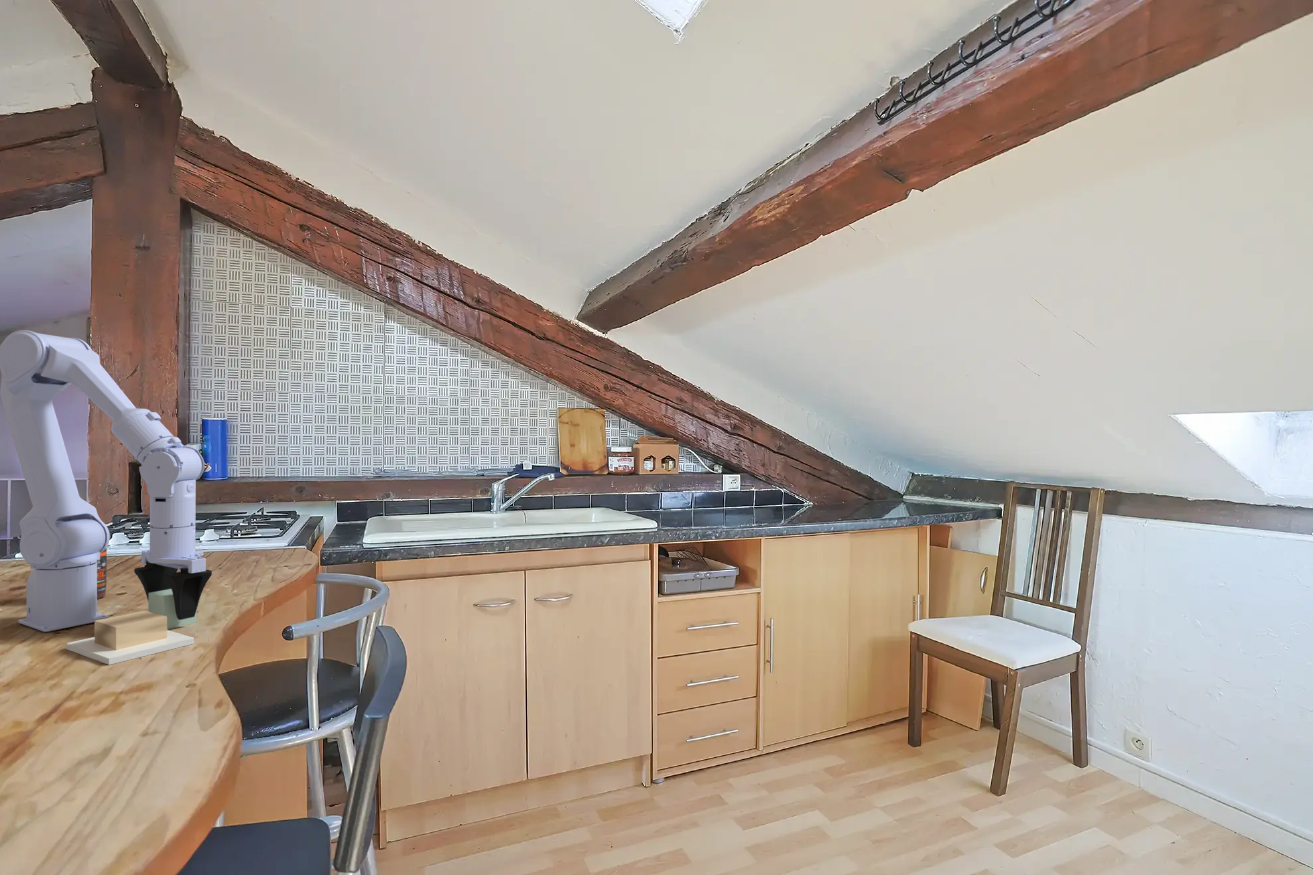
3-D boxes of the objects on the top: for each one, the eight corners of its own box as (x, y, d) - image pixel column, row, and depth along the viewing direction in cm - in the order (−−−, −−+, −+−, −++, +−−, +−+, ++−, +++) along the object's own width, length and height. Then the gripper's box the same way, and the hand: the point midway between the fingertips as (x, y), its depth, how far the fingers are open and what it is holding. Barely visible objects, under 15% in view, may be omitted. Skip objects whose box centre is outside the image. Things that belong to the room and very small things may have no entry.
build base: (66, 649, 92) (66, 621, 92) (150, 630, 101) (150, 604, 101) (109, 665, 86) (109, 635, 86) (194, 643, 95) (194, 616, 95)
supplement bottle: (80, 604, 115) (80, 537, 115) (52, 602, 116) (52, 535, 116) (115, 595, 121) (115, 532, 121) (88, 593, 122) (88, 530, 122)
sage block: (148, 625, 103) (148, 592, 103) (181, 618, 107) (181, 587, 107) (163, 630, 101) (163, 596, 101) (196, 622, 105) (196, 590, 105)
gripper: (227, 526, 104) (226, 615, 104) (176, 519, 111) (176, 602, 111) (176, 532, 98) (175, 626, 98) (126, 524, 105) (126, 612, 105)
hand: (172, 614), depth 104 cm, fingers open, 7 cm apart
